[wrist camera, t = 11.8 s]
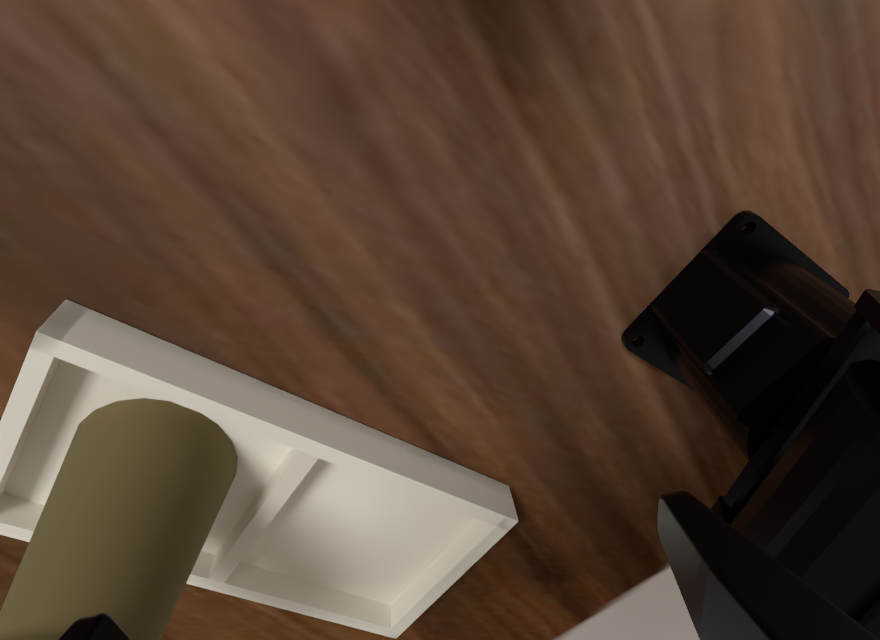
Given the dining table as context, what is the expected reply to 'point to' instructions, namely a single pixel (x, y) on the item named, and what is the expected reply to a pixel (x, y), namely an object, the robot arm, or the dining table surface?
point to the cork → (122, 521)
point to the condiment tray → (262, 479)
